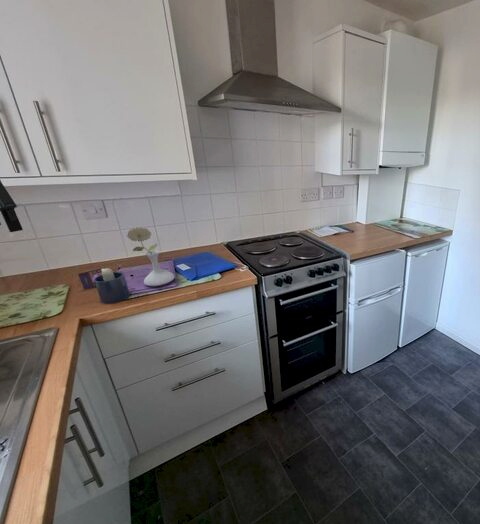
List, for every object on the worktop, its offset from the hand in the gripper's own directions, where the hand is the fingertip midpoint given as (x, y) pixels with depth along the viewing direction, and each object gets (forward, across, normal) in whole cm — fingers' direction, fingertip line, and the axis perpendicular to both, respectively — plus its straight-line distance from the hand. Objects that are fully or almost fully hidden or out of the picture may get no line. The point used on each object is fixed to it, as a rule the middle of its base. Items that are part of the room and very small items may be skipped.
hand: (5, 228), depth 93 cm
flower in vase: (+32, -13, -33) cm, 48 cm away
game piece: (+31, -10, -18) cm, 37 cm away
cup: (+31, -10, -18) cm, 38 cm away
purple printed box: (+32, +9, -21) cm, 39 cm away
